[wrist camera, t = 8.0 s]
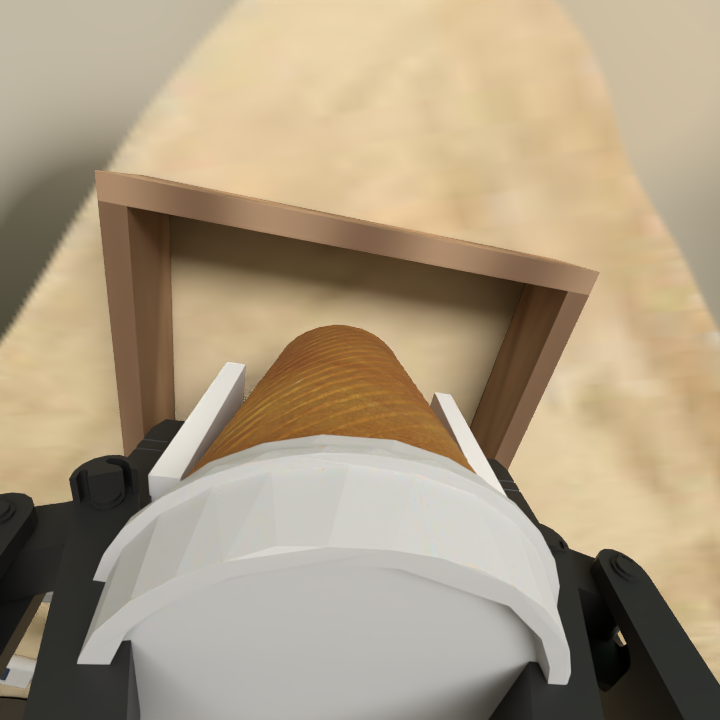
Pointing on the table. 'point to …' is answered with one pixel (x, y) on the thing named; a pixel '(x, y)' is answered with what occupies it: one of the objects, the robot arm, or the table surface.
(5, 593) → the robot arm
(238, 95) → the table surface
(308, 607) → the disposable coffee cup
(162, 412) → the rectangular wooden frame
